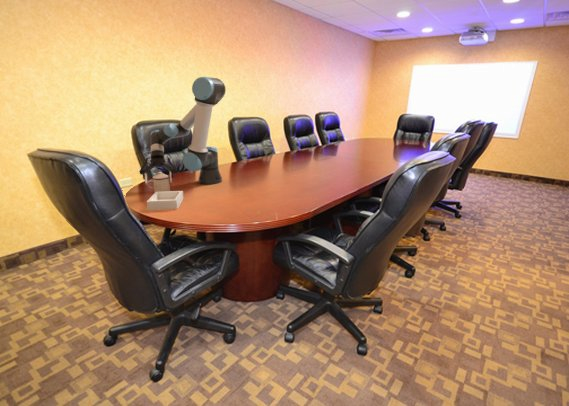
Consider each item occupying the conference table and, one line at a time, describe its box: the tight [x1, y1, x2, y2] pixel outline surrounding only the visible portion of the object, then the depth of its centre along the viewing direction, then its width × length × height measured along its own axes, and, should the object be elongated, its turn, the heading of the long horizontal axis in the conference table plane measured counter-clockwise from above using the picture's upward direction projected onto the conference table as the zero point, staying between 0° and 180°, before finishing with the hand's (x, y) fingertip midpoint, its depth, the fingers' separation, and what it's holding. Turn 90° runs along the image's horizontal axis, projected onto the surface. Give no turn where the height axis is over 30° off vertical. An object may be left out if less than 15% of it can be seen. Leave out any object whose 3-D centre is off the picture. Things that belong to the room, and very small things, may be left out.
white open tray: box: [146, 190, 184, 211], centre depth 160 cm, size 14×17×4 cm
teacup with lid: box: [147, 171, 171, 193], centre depth 181 cm, size 12×9×12 cm
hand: (158, 183), depth 180 cm, fingers open, 13 cm apart
